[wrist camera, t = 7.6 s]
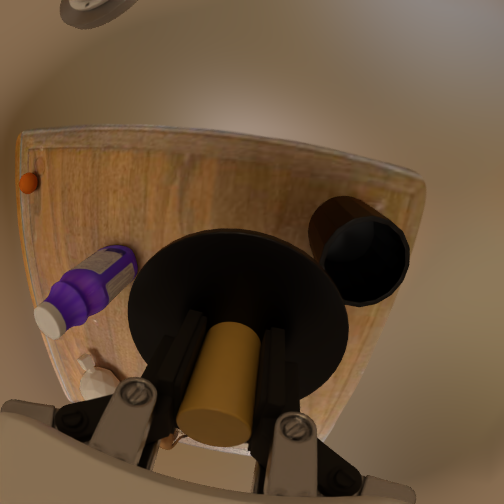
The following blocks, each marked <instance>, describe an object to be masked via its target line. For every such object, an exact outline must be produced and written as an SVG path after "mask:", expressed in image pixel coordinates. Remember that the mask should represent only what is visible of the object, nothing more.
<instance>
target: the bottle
mask: <svg viewBox="0 0 504 504" xmlns="http://www.w3.org/2000/svg"><path fill="white" fill-rule="evenodd" d="M137 270H138V266H137V262H136V258H135V255H134V253H133V251H132V250H131V249H130V248H128V247H126V246H121V245H112V246H107V247H104V248H102V249H100V250H98V251H97V252H96V253H94V254H93V255H91V256H90V257H88V258H87V259H85V260H84V261H82V262H81V263H80V264H78V265H77V266H75V267H74V268H72V269H71V270H69V271H68V272H66V273H65V274H64V275H63V276H62V278H61V279H60V281H59V282H57V283H55V284H54V285H53V286H52V288H51V291H50V293H49V296H48V297H47V298H46V299H45V300H44V301H43V302H42V303H41V304H40V305H39V306H37V307H36V308H35V310H34V317H35V320H36V323H37V325H38V327H39V328H40V329H41V331H42V332H43V333H44V334H45V335H46V336H48V337H49V338H51V339H55V340H56V339H59V338H60V337H61V336H62V335H63V334H64V333H65V332H66V331H67V330H68V329H69V328H71V327H73V326H80V325H82V324H84V323H85V322H86V320H87V318H88V317H89V316H91V315H94V314H96V313H98V312H100V311H101V310H103V309H104V308H105V307H106V306H107V305H108V304H109V303H110V302H111V301H112V300H113V299H114V298H115V297H116V296H117V295H118V294H119V293H120V292H121V291H122V290H123V289H124V288H125V287H126V286H127V285H128V284H129V283H130V282H131V281H132V280H133V279H134V278H135V277H136V274H137Z"/></svg>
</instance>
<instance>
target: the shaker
mask: <svg viewBox="0 0 504 504" xmlns="http://www.w3.org/2000/svg"><path fill="white" fill-rule="evenodd" d="M308 234H309V241H310V246H311V250H312V253H313V256H314V259H315V260H316V261H317V262H318V263H319V264H320V265H321V266H322V267H323V269H324V270H325V271H326V272H327V273H328V274H329V276H330V277H331V278H332V280H333V281H334V283H335V284H336V286H337V288H338V290H339V292H340V294H341V296H342V299H343V301H344V304H345V305H350V306H356V307H363V306H368V305H373V304H377V303H379V302H380V301H382V300H384V299H385V298H387V297H389V296H390V295H392V294H393V292H394V291H395V290H396V289H397V288H398V287H399V286H400V284H401V283H402V282H403V280H404V278H405V275H406V273H407V270H408V267H409V260H410V248H409V245H408V242H407V240H406V238H405V235H404V233H403V231H402V230H401V229H399V228H398V227H397V226H396V225H395V224H394V223H393V222H392V221H390V220H389V219H388V218H386V217H385V216H383V215H382V214H381V213H379V212H378V211H376V210H375V209H373V208H372V207H370V206H369V205H368V204H366V203H365V202H363V201H362V200H359V199H356V198H354V197H349V196H339V197H335V198H332V199H329V200H328V201H326V202H324V203H323V204H322V205H321V206H319V207H318V209H317V210H316V211H315V212H314V214H313V216H312V218H311V220H310V223H309V230H308Z"/></svg>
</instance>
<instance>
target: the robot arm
mask: <svg viewBox="0 0 504 504" xmlns="http://www.w3.org/2000/svg"><path fill="white" fill-rule="evenodd" d="M107 1H108V0H69V3H70V6H71V7H72V8H74V9H76V10H78V11H87V10H91V9H94V8H96V7H98V6H100V5H102V4H104V3H105V2H107ZM206 324H207V317H205V316H203V312H199V311H195V310H191V309H190V310H189V312H188V314H187V316H186V318H185V320H184V321H183V323H182V325H181V327H180V329H179V331H178V333H177V335H176V337H173V336H169V335H164V336H163V338H162V340H161V342H160V343H159V345H158V347H157V349H156V351H155V352H154V354H153V356H152V358H151V360H150V362H149V363H148V365H147V367H146V369H145V371H144V373H143V374H142V376H141V378H139V377H130V378H127V379H124V380H123V381H121V382H120V383H119V385H118V386H117V388H116V389H115V391H114V393H113V394H110V395H107V396H103V397H99V398H94V399H90V400H86V401H82V402H77V403H72V404H68V405H65V406H63V407H62V408H60V409H57V408H55V406H53V405H45V404H38V403H32V402H26V401H21V400H12V399H11V400H9V401H6V402H5V403H4V404H3V406H2V408H1V412H0V504H415V503H416V494H415V491H414V490H412V488H411V487H409V486H406V485H402V484H398V483H394V482H391V481H387V480H383V479H380V478H376V477H373V476H370V475H367V476H366V477H365V476H362V475H361V474H360V473H359V471H358V470H357V469H356V468H355V467H354V466H352V465H351V464H350V463H348V462H347V461H345V460H344V459H343V458H342V457H340V456H339V455H338V454H337V453H335V452H334V451H333V450H332V449H330V448H329V447H328V446H327V445H325V444H324V443H323V442H322V441H320V440H319V439H318V438H317V428H316V424H315V423H314V421H313V420H312V419H311V418H310V417H309V416H307V415H305V414H303V413H300V399H299V378H298V364H297V363H296V362H290V361H285V330H284V329H280V328H275V327H271V329H270V330H265V333H264V337H263V341H262V344H261V348H260V357H259V367H258V377H257V386H256V395H255V404H254V413H253V429H252V435H251V437H250V439H249V440H248V441H247V442H245V443H246V444H248V451H251V452H250V454H251V455H252V456H253V457H254V458H255V459H256V464H255V470H254V476H253V482H252V488H251V493H245V492H238V491H232V490H225V489H219V488H215V487H210V486H205V485H200V484H196V483H191V482H188V481H184V480H180V479H176V478H172V477H169V476H165V475H162V474H159V473H156V472H153V471H152V470H153V466H154V463H155V459H156V456H157V453H158V449H159V446H160V443H161V439H163V438H165V437H168V436H169V435H170V434H173V435H174V432H175V429H176V428H178V429H179V427H178V425H177V422H176V416H177V413H178V411H179V408H180V405H181V402H182V400H183V397H184V394H185V391H186V388H187V386H188V383H189V380H190V377H191V374H192V372H193V369H194V366H195V363H196V361H197V358H198V355H199V352H200V350H201V347H202V344H203V341H204V339H205V332H206Z"/></svg>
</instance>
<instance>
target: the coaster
mask: <svg viewBox="0 0 504 504" xmlns="http://www.w3.org/2000/svg"><path fill="white" fill-rule="evenodd" d="M232 448H248V444H246V443H243V444H241V445H238V446H233V447H232Z"/></svg>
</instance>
